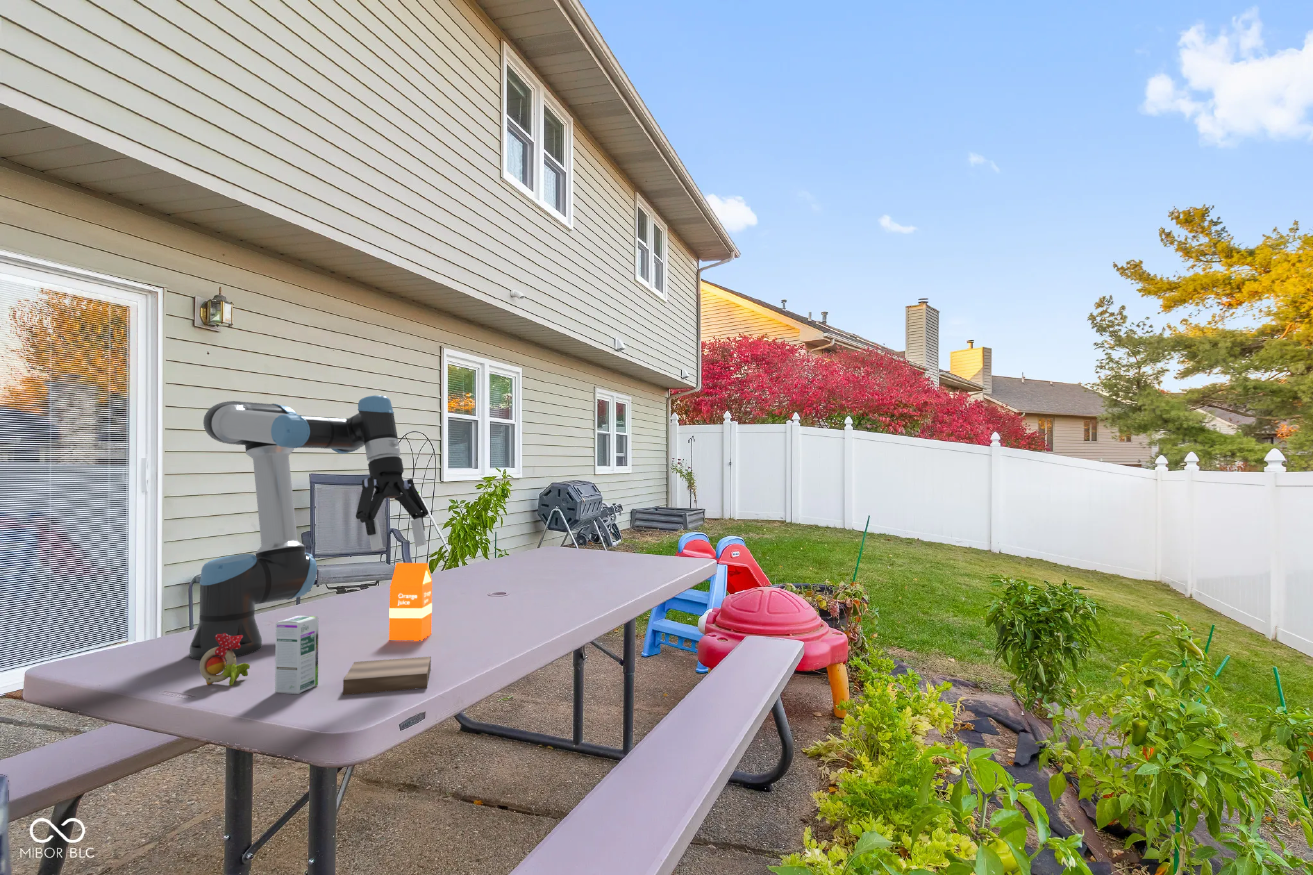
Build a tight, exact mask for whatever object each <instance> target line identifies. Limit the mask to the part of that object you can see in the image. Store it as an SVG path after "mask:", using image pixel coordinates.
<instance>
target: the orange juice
mask: <svg viewBox="0 0 1313 875" xmlns="http://www.w3.org/2000/svg"><path fill="white" fill-rule="evenodd" d="M429 567H430V566H429V563H428V562H396V564H395V567H394V570H393V575H392V578H391V582H390V584H389V608H388V611H389V613H388V614H389V616H388V618H389V620H388V623H389V625H388V641H389V640H414V641H413V642H422V641H424V640H425V639H427V636H428V637H429V636H431V635H432V624H433V623H432V621H433V619H432V616H433V613H432V612H433V579H432V576H431V571H430V568H429ZM424 638H425V639H424ZM423 639H424V640H423ZM419 640H421V641H419Z"/></svg>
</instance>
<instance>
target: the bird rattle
mask: <svg viewBox="0 0 1313 875" xmlns="http://www.w3.org/2000/svg"><path fill="white" fill-rule="evenodd" d="M242 637H243V635H238V636H228V635H227V634H226V633H223V634H222V635H221V634H217V635H216V636H215V638H216V640H217V642H218V643H219V645H220V646H219V647H215V648H213V649H211V650H209V651H208V652H206V653H205V654H204V656H203V657H202V659H200V660H199V662H200V663H199V672H200V674H201V676H202V678H203V679H204V680H205V682H206V685H208V686H210V685H212V684H215V683H221V682H224V681H225V680H228V679H229V680H228V685H229V686H231V687H232V686H234V684H235V681H236V680H238V678H239V677H240V675H241V676H243V677H248V676H249V672H248V670H249V669H250V667H251V666H250V664H249V663H245V662H243V663H239V664H237V657H235V655H234V653H233V652H232V648H233V649H239V648H240V644H239V642H240V640H241V639H242ZM214 655H217V656H215V657H213V656H214Z"/></svg>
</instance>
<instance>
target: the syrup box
mask: <svg viewBox="0 0 1313 875" xmlns="http://www.w3.org/2000/svg"><path fill="white" fill-rule="evenodd" d="M274 655H275V659H274V662H275V665H274V666H275V667H274V668H275V669H274V670H275V673H274V675H275V676H274V678H275V679H274V680H275V681H274V682H275V683H274V688H275V689H274V690H275V691H274V692H275V693H279V694H289V695H290V694H291V695H299V694H301V693H303V692H306V691H308V690H310V689H312V688H314V687H317V686H318V685H319V617H318V616H314V615H295V616H293V617H290V618H286V619H283V620H279V621H276V622H275V654H274Z"/></svg>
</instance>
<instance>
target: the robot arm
mask: <svg viewBox="0 0 1313 875" xmlns="http://www.w3.org/2000/svg"><path fill="white" fill-rule="evenodd" d="M357 411H358V412H357V413H356V414H354V415H353V416H350V417H349V418H344V417H331V416H315V415H304V414H303V415H302V414H297V411H295V410H294V409H292V407H290V406H287V405H284V404H283V405H281V404H277V403H261V402H260V403H259V402H250V401H241V400H240V401H238V400H229V401H223V402H219V403H217V404H214V405H212V406H211V407H210V408H209V409H208V410H207V411H206V413H205V415H204V417H203V428H204V430H205V432H206V433H207V435H208V436H209V437H210V438H211V439H213V440H215V441H217V442H220V443H222V444H229V445H237V446H241V445H242V446H244V448H245V454H246V455H247V456H249V457H250V458H251V459H252V461H253V462H252V463H253V464H252V465H253V472H254V473H253V474H254V482H255V485H254V486H255V492H256V504H257V513H258V516H257V517H258V524H259V525H258V526H259V534H260V544H261V545H260V547H259V548H257V550H256V552H255V554H252V553H242V554H235V555H234V554H232V555H227V556H222V557H218V558H215V559H212V560H209V561H207V562H205V563H204V564H203V565H202V567H201V571H200V580H199V586H200V587H199V620H198V626H197V628H196V631H195V634H194V635H193V639H192V641H191V643H190V646H189V657H190V658H191V659H194V660H201V659H202V657H203V656H204V654H205V653H206V652H208V651H209V650H211V649H213V648H215V647H219V646H220V645H219V643H218V642H217V640H216V638H215V636H216V635H217V634H221V635H222V634H223V633H226V634H227V635H228V636H238V635H243V637H242V639H241V640H240V642H239V644H240V648H239V649H233V648H232V652H233V653H234V655H235V657H236V658H237V657H241V656H245V655H249V654H253V653H255V652H257V651H259V650H261V648H262V647H263V646H262V644H263V643H262V642H263V640H262V636H261V633H260V630H259V627H258V625H257V621H256V619H255V618H256V617H255V607H256V605H261V604H266V603H273V602H277V601H279V602H280V601H285V600H287V601H289V600H293V599H296V598H300V597H303V596H305V595H307V594H308V593H309V592H310V591H312V590H311V589H312V587H313V586H315V582H316V580H317V579H316V578H317V572H318V565H317V561H316V559H315V558H314V556H313V554H311V553H308V552H306V547H305V545H304V544H303V543H301V542H300V541H299V540H298V530H297V522H296V513H295V502H294V494H293V492H294V491H293V483H292V475H291V467H290V455H291V454H292V453H293V452H294V450H295V449H302V448H303V449H325V450H326V449H329V450H330V449H331V450H332V451H334V452H336V453H337V454H340V455H345V454H349V453H353V452H355V451H358V450H359V449H360V448H362V447H364V449H365V454H366V455H365V456H366V460H367V461H368V464H367V468H368V472H369V477H367V478H363V479H362V480H361V493H360V497H359V502H358V506H357V510H356V514H355V519H357V520H360V521H359V522H361V523H362V524H363V523H364V525H365V530H366V535H367V536H368V538H369V544H370V549H371V552H373V551H377V550H380V549H384V545H383V538H382V534H381V533H382V531H381V528H380V527H381V526H380V523H379V518H376V517H377V514H378V512H379V511H380V508H381V507H382V504H383V502H384V500H385V499H394V500H395V501H398V502H399V504H400V505H401V506H402V507H403V509H404V510H405V511H406V512H407V513H408V514H409V516H411V518H412V520H410V525H411V528H412V529H411V531H412V535H413V540H414V546H415V548H418V547H421V546H424V545H427V540H426V536H425V529H426V528H425V524H424V518H425V517H427V516H428V515H429V511H428V508H427V506H426V505H425V503H424V501H423V499H422V498H421V495H420V494H419V492H418V490H417V488H416V487H415V486H416V485H415V483H414V480H413V478H409V479H406V480H404V479H403V476H402V475H403V473H404V471H405V470H404V465H403V464H404V463H403V459H402V458H401V455H402V454H401V450H400V443H399V438H398V432H397V426H396V419H395V412H394V408H393V405H392V402H391V399H390V398H389V397H387V396H385V395H380V394H379V395H376V394H375V395H369V396H365V397H363V398H361V399H360V400H358V403H357ZM375 518H376V519H375ZM215 656H217V655H214V656H213V657H215Z"/></svg>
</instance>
